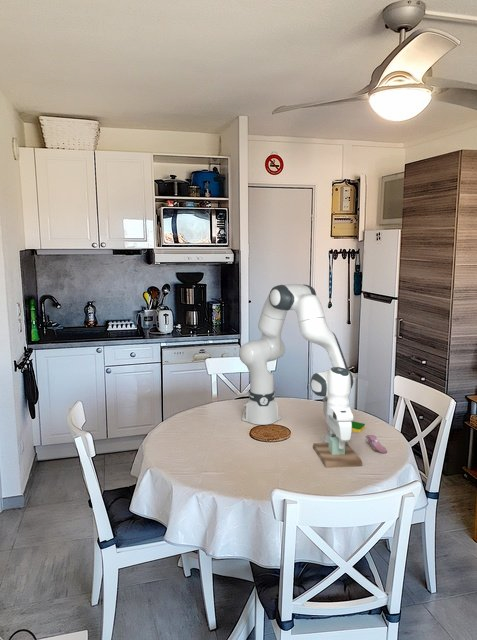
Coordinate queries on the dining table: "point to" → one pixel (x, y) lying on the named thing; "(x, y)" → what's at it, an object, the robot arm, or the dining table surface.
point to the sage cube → (335, 446)
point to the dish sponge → (357, 426)
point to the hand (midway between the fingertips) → (336, 443)
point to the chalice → (325, 416)
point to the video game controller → (375, 443)
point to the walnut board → (337, 456)
